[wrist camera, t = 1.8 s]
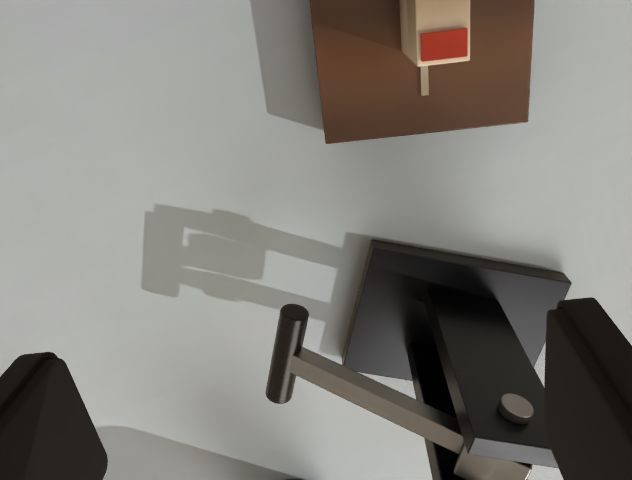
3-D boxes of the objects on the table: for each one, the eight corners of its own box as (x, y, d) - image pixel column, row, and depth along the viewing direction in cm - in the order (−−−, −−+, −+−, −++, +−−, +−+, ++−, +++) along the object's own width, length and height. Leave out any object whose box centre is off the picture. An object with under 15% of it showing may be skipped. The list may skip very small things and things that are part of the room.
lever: (278, 377, 30) (255, 401, 28) (293, 296, 28) (270, 316, 26) (509, 491, 26) (502, 529, 24) (550, 406, 24) (546, 441, 22)
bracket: (341, 358, 36) (346, 536, 24) (371, 239, 32) (394, 383, 20) (514, 386, 37) (599, 572, 25) (564, 272, 33) (691, 431, 21)
